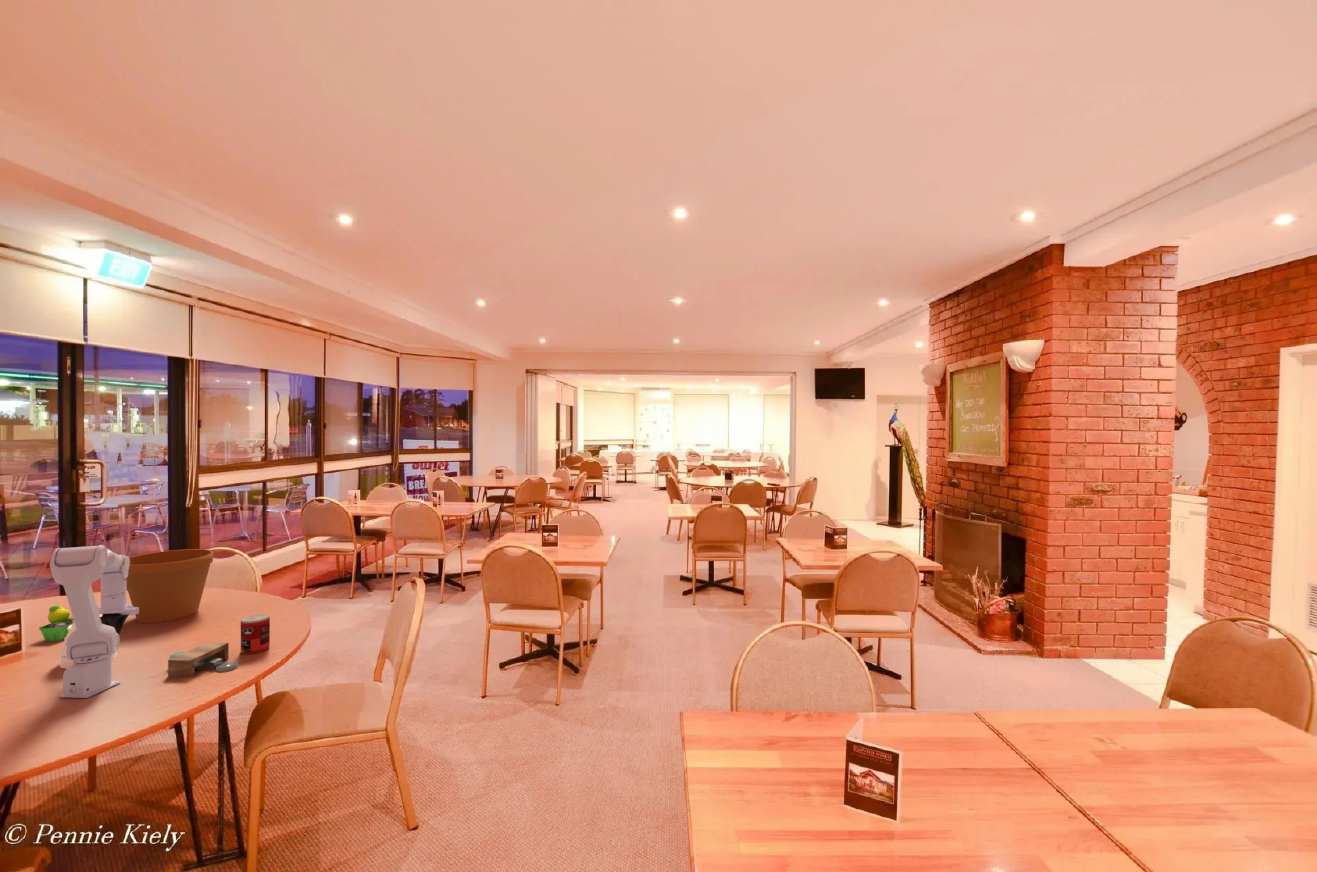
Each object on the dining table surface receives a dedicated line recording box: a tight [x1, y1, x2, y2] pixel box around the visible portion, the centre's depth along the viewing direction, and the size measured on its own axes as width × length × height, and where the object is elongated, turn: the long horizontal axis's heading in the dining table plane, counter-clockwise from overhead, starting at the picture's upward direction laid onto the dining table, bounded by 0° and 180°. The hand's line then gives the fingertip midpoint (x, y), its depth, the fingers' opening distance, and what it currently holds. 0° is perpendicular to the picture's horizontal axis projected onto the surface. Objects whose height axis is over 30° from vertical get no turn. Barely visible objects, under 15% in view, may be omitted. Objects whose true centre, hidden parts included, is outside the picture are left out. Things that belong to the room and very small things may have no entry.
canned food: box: [240, 613, 271, 655], centre depth 188 cm, size 8×8×11 cm
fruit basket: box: [38, 604, 74, 642], centre depth 199 cm, size 11×9×11 cm
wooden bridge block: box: [167, 641, 230, 678], centre depth 174 cm, size 14×7×5 cm, turn 177°
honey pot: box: [59, 614, 118, 670], centre depth 179 cm, size 13×13×18 cm
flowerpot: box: [126, 548, 214, 624], centre depth 222 cm, size 28×28×24 cm
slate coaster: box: [215, 660, 239, 673], centre depth 173 cm, size 6×6×1 cm
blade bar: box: [169, 651, 224, 671], centre depth 174 cm, size 3×15×4 cm, turn 85°
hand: (113, 637), depth 172 cm, fingers closed
